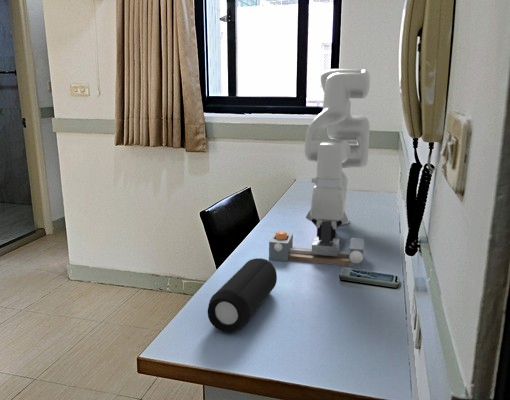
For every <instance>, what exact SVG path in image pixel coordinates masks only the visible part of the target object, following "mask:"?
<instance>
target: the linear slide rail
mask: <svg viewBox="0 0 510 400" xmlns="http://www.w3.org/2000/svg"><path fill="white" fill-rule="evenodd" d="M276 232H277V231H274V233H273V235H272V236H271V238H270V240H269V241H268V261H269V260H270V261H280V262H288V261H289V260H288V255H289V253H290V248H291V247H294V246H293V244H294V243H293V242H294V240H293V239H294V233H293V232H291V233H290V232H287V240H278V239H276ZM364 242H365V239H364V238H357V237H356V238H355V237H351V238H350V243H349V244H350V245H349V252H350V255H349V266H348V267H349V268H356V269H363V262H364V248H365V247H364Z"/></svg>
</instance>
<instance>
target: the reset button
mask: <svg viewBox="0 0 510 400" xmlns="http://www.w3.org/2000/svg"><path fill="white" fill-rule="evenodd" d="M275 232H276V239H278V240H287V233H288V232H286V231H283V230H281V231H280V230H279V231H275Z"/></svg>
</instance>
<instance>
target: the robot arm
mask: <svg viewBox="0 0 510 400" xmlns="http://www.w3.org/2000/svg"><path fill="white" fill-rule="evenodd" d="M320 84H321V88H322V90H323V93H324V94H323V102H322V103H323V104H322V110H321V112H320V113H318V114H317V116H315V117H314V118H313V119H312V121H311V122H310V124H309V125H308V127H307V130H306V136H305V140H304V141H305V142H304V157H305V158H306V160H307V161H309V162H313V163H316V176H315V177H314V178H311V183H313V184H315V185H314V186H313V188H312V193H311V201H310V209H309V211H308V213H307V214H306V216H305V219H306V220H308V221H310V222H311V223H312V224H313V225H314V226H315V227H316V237H319V240H321V225H322V221H321V220H332V224H333V225H332V228H331V240H330V241H333V238H336V237H337V235H336V234H337V229H338V227H340V226H345V225H348V224H350V218H349V217H348V215H347V202H348V201H347V200H348V197H347V196H348V185H349V183H348V181H349V180H348V176H347V174H346V173H345V172H344V170H343V169H355V170H356V169H358V170H361V169H365V168H366V166H367V164H368V161H369V148H370V147H369V145H370V121H369V119H368V117H366V116H364V115H351V103H352V102H351V100H350V99H365V98H366V97H367V96H368V94H369V92H370V85H371V75H370V73H369V71H368V70H367V69H365V68H362V69H359V68H331V69H330V68H329V69H326V70H323V71H322V73H321V74H320ZM324 129H326V131H327V132H326V134H327V137H328V138H323V137H321V138H320V137H316V135H317V134H319V132H322V130H324ZM348 141H349V142H352V141H353V142H356V143H349V142H348Z"/></svg>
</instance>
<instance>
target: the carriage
mask: <svg viewBox="0 0 510 400" xmlns="http://www.w3.org/2000/svg"><path fill="white" fill-rule="evenodd" d="M331 228H332V220H322V223H321V240H319V237H317V236H314V238H313V239H312V240H313V241H312V243H311V249H312V254H318V255H329V256H338V251H339V250H340V238H336V237H335V238H333V241H330V240H331Z"/></svg>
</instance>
